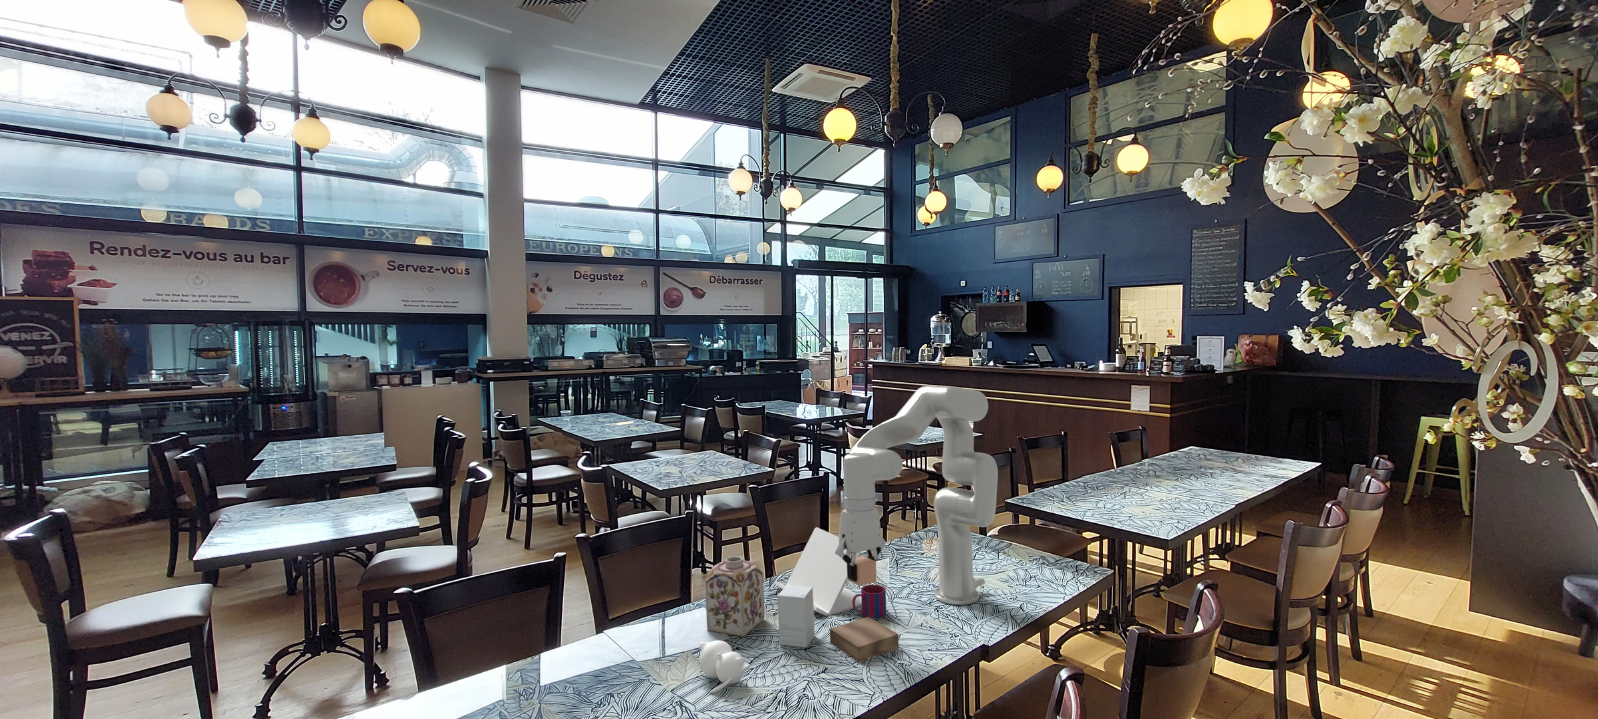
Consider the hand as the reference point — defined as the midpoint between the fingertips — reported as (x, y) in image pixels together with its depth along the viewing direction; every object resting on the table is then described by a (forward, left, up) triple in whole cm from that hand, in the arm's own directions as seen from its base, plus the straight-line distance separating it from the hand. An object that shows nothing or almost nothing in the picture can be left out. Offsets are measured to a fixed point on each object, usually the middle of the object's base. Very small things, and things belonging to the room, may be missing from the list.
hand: (861, 576), depth 160 cm
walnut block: (0, 0, -18) cm, 18 cm away
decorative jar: (+21, -29, -17) cm, 40 cm away
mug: (-12, -14, -17) cm, 25 cm away
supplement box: (+12, -12, -17) cm, 24 cm away
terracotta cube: (0, 0, -1) cm, 1 cm away
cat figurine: (+36, -5, -17) cm, 41 cm away
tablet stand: (-8, -32, -18) cm, 38 cm away
